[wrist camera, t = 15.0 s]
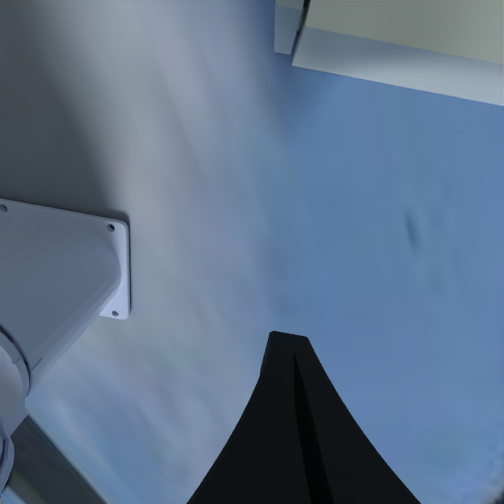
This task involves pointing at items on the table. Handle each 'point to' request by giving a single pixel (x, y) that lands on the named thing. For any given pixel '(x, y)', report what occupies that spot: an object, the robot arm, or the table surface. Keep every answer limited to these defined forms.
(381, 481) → the robot arm
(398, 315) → the table surface
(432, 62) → the player box
